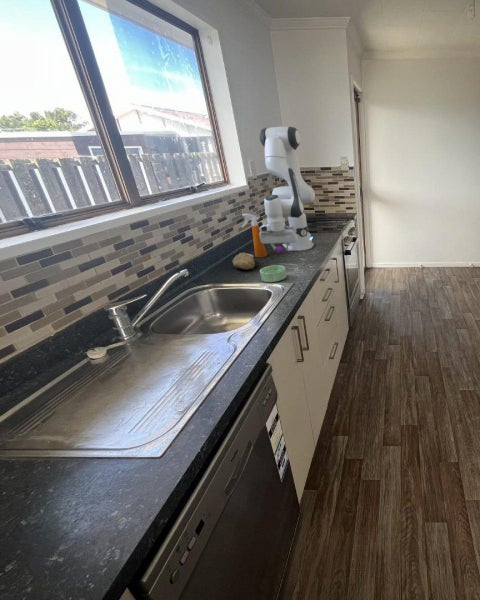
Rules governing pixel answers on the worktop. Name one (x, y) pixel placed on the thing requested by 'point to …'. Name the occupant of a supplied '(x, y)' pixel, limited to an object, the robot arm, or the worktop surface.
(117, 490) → the worktop surface
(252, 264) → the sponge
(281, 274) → the bowl
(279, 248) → the ball
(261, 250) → the spray bottle
